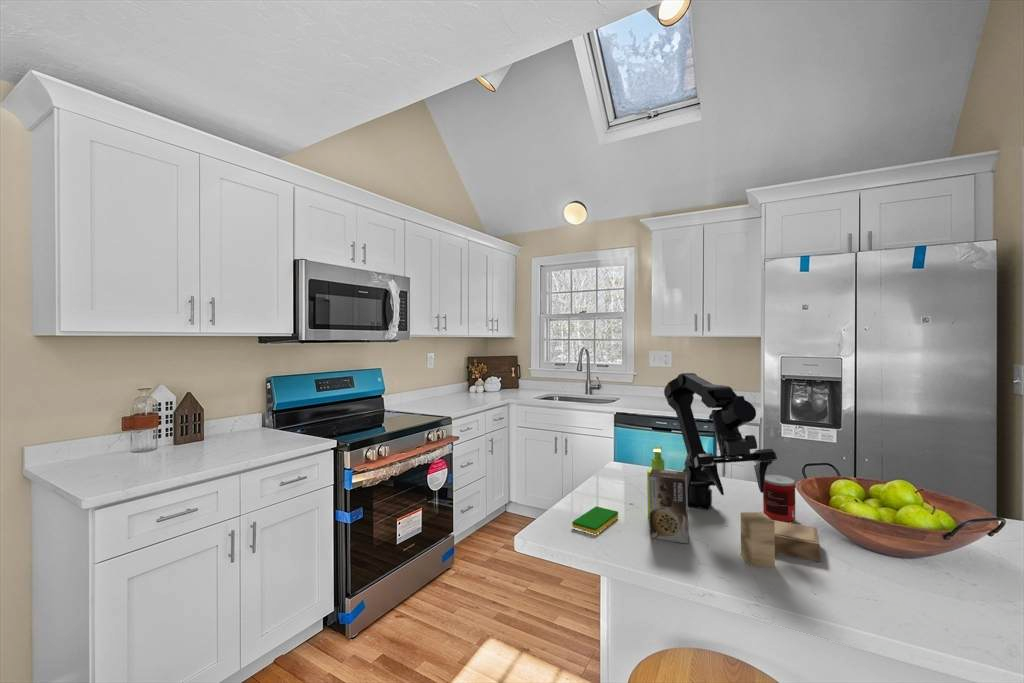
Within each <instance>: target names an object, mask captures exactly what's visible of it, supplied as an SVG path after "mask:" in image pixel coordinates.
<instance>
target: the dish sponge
mask: <svg viewBox="0 0 1024 683" xmlns="http://www.w3.org/2000/svg"><path fill="white" fill-rule="evenodd" d="M617 518H618V519H619V511H618V510H617V511H616V510H613V509H609V508H604V507H600V506H594V507H592V508H591V509H590V510H588V511H586V512H585V513H583V514H582V515H581V516H579V517H578V518H575V519H574V520H573V521H571V522H572V523H571V524H572V525H571V527H572V526H573V527H574V528H578V529H581V530H583V531H587V532H590V533H593V534H597V533H598V532H600V531H601V530H603V529H604V528H605V527H607V526H608V525H610V524H611V523H612V522H614V521H615V520H616V519H617ZM616 521H617V520H616ZM616 521H615V522H616ZM615 522H614V523H615ZM612 524H613V523H612ZM612 524H611V525H612ZM611 525H610V526H611ZM608 527H609V526H608ZM608 527H607V528H608ZM604 530H605V529H604ZM604 530H603V531H604Z"/></svg>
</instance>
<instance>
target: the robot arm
mask: <svg viewBox="0 0 1024 683" xmlns="http://www.w3.org/2000/svg"><path fill="white" fill-rule="evenodd" d="M663 394H664V397H665V398H666V401H667V404H668V406H670V407H671V409H673V410H674V411H675V414H676V417H677V421H678V425H679V428H680V432H681V435H682V439H683V443H684V447H685V449H686V458H685V461H684V469H683V470H682V472H687V494H688V507H693V508H698V509H699V508H700V509H705V510H709V509H710V507H712V504H713V490H712V488H711V486H713V487H714V486H715V487H716V488H717V491H719V493H720V495H721V496H724V495H725V494H724V487H723V485H722V482H721V479H720V476H719V472H718V467H717V465H718V464H727V463H728V464H729V463H743V462H754V463H755V464H754V465H753V467H754V468H753V469H754V472H755V477H756V482H757V485H758V486H757V487H758V489H759V492H760V493H762V494H763V492H764V480H765V476H766V472H767V469H768V466H771V465H772V464H773V463H774V462H775V461H777V460H778V457H777V454H776V451H775V450H773V449H772V448H764V449H758V444H757V443H758V442H757V438H756V436H755V435H753V434H751V435H745V436H744V438H743V436H742V433H741V432H740V429H739V428H741V427H742V426H744V425H746V424H749V423H751V422H752V421H754V420H755V418H756V417H757V410H756V408H755V406H754V405H753V404H752V403H751V402H750V401H747V400H746V399H745V396H744V395H737V393H736V392H735V391H734V390H733V389H732V387H731V386H729V385H723V384H713V383H712V382H710V381H708V380H706V379H704V378H702V377H701V376H698V375H697V373H695V372H683V373H679V374H678V375H677V377H674V379H672V380H670V381H669V382H667V384H666V386H665V387H664V390H663ZM695 394H696V395H697V396H700V397H701V399H700V400H701V402H702V403H703V404H704V405H705V407H707V408H709V409H711V408H712V410H711V413H710V414H709V416H708V419H709V420H712V423H713V426H714V432H715V436H716V442H717V444H718V449H719V455H713V453H712V452H706V451H705V450H704V446H703V442H702V440H701V437H700V433H699V429H698V426H697V423H696V419H695V415H694V412H693V409H692V404H693V401H694V395H695ZM751 450H755V451H753V452H752V453H751Z"/></svg>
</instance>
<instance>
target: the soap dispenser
mask: <svg viewBox="0 0 1024 683" xmlns="http://www.w3.org/2000/svg"><path fill="white" fill-rule="evenodd" d="M662 449H663V448H662V446H659V445H658V446H656V445H654V447H653V450H652V451H653V452H652V453H653V454H654V456H653V457H651V468H648V469H647V470H646V472H647V473H646V476H647V478H646V481H647V482H646V484H647V486H646V487H647V518H648V519H649V518H650V509H649V478H648V476H649V474H650V472H651V470H652V469H658V470H666V469H665V459H664V458H663V457H662Z"/></svg>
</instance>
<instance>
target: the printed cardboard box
mask: <svg viewBox="0 0 1024 683" xmlns="http://www.w3.org/2000/svg"><path fill="white" fill-rule="evenodd" d="M651 469H652V468H651ZM648 478H649V509H650V519H649V538H651V539H654V538H655V539H656V540H662V541H668V542H675V543H682V544H688V541H689V535H690V534H689V506H688V494H687V472H683V471H680V470H679V471H677V470H668V469H665V470H658V469H652V470H651V472H650V474H649V476H648Z"/></svg>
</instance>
